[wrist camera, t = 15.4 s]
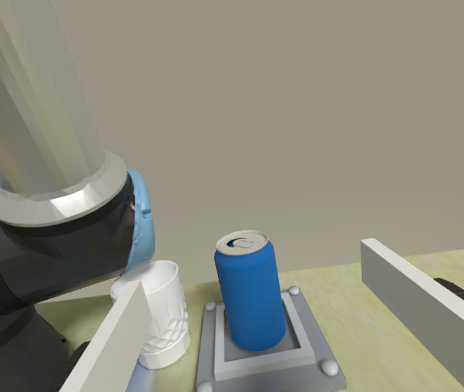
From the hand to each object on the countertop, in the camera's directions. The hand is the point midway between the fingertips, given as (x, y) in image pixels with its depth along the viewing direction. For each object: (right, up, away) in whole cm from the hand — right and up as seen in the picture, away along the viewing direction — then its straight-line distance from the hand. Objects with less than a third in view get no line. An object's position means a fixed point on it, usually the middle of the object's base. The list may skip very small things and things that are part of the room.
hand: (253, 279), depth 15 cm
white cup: (-10, -14, +17) cm, 24 cm away
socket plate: (+2, -12, +15) cm, 20 cm away
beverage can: (+2, -12, +15) cm, 19 cm away
